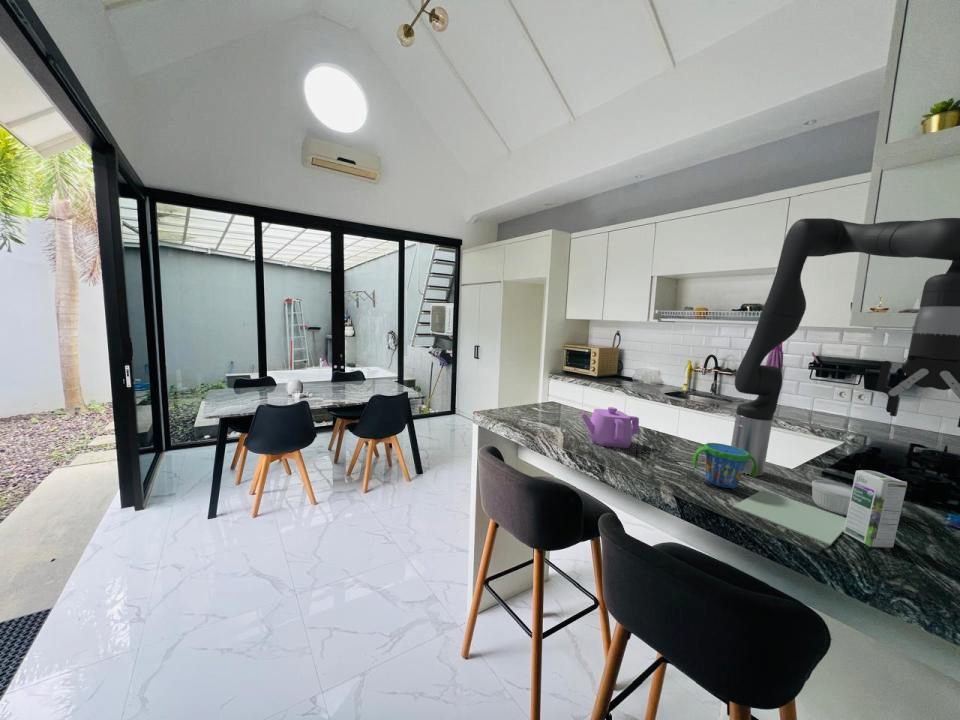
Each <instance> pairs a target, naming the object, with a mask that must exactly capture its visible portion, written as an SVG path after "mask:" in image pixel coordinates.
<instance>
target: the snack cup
mask: <svg viewBox="0 0 960 720" xmlns="http://www.w3.org/2000/svg"><path fill="white" fill-rule="evenodd" d="M702 452H704V453H705V480H706V481H707V482H709V483H710V484H712V485H713V486H717V487H719V488H725V489H733V490H734V489H735V488H737V486H738V485H739V483H740V480H741V478H742V475H743V473H742V471H743V469H744V466H745V464H746V462H747V461H748V459H749V458H751V459H752V460H753V463H754V464H753V467H752V470H751V473H750V475H749V476H750V477H751V478H756V477H757V476H756V474H757V462H756V460H755V459H754V458H753V457H752V456H751V455H749V453H748V452H746V451H745V450H742V449H740V448H737V447H733V446H731V445H729V444H725V443H719V442H718V443H717V442H706V443H705V444H704V445H703V446H700V447H699V448H697V449H696V451H695V452H694V454H693V456H692V465H693V468H694V469H697V463H698V459H699V454H700V453H702Z"/></svg>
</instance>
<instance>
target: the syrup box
mask: <svg viewBox="0 0 960 720" xmlns="http://www.w3.org/2000/svg"><path fill="white" fill-rule="evenodd" d="M854 474H855V475H854V478H853V482H852V483H853V484H852V487H853V488H852V493H851V498H850V503H849V508H848V513H847V516H846V517H845V518H846V522H845V526H844V531H843V532H842V533H843V534H845V535H848V536H850V538H853V539H855V540H857V541H859V542H861V543H862V544H864V545H865V546H868V547H869V548H894V545H895V539H896V535H897V531H898V526H899V522H900V517H901V515H902V509H903V504H904V499H905V495H906V491H907V486H908V482H907V481H903V480H900V479H897V478H895V477H892V476H889V475H887V474H884V473H882V472H880V471H879V472H878V471H875V470H868V469H866V470H865V469H864V470H863V469H861V470H855V473H854Z"/></svg>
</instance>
